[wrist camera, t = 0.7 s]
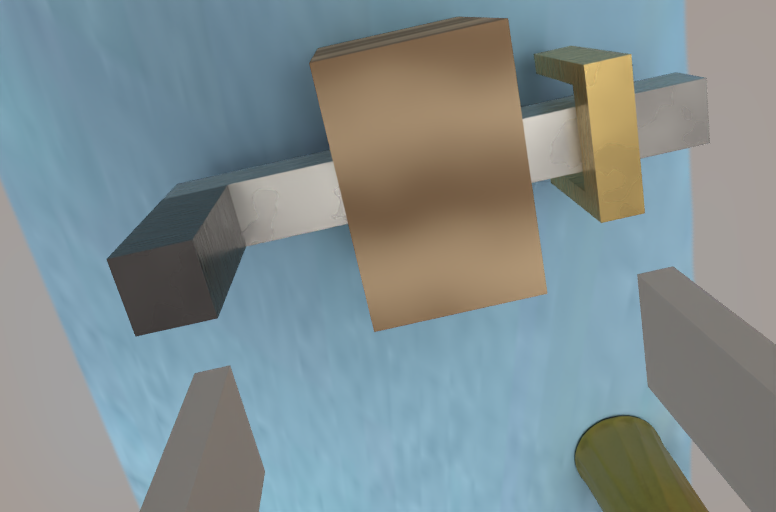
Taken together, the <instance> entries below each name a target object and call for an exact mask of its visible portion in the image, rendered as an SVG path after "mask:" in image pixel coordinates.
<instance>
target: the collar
mask: <svg viewBox="0 0 776 512" xmlns="http://www.w3.org/2000/svg"><path fill="white" fill-rule="evenodd" d="M534 60H535V67H536V74H539V75H543V76H546V77H549V78H552V79H556V80H559V81H562V82H565V83H569V84H572V85H573V91H574V99H575V108H576V116H577V125H578V134H579V142H580V151H581V160H582V168H583V171H582V172H578V173H573V174H569V175H564V176H560V177H555V178H551V179H550V180H551V183H552V184H553V185H555V186H556V187H557V188H558V189H560V190H561V191H562V192H563V193H565V194H566V195H567V196H568V197H570V198H571V199H572V200H573V201H575V202H576V203H577V204H578V205H580V206H581V207H582V208H583V209H585V210H586V211H587V212H588V213H590V214H591V215H592V216H593V217H594V218H596V219H597V220H598V221H599V222H601V223H603V222H607V221H612V220H616V219H621V218H625V217H630V216H634V215H639V214H643V213H645V209H644V198H643V186H642V174H641V163H640V151H639V139H638V128H637V116H636V105H635V93H634V81H633V70H632V58H631V54H626V53H619V52H612V51H605V50H598V49H591V48H584V47H577V46H568V47H563V48H559V49H555V50H550V51H546V52H541V53H537V54H534Z"/></svg>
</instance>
